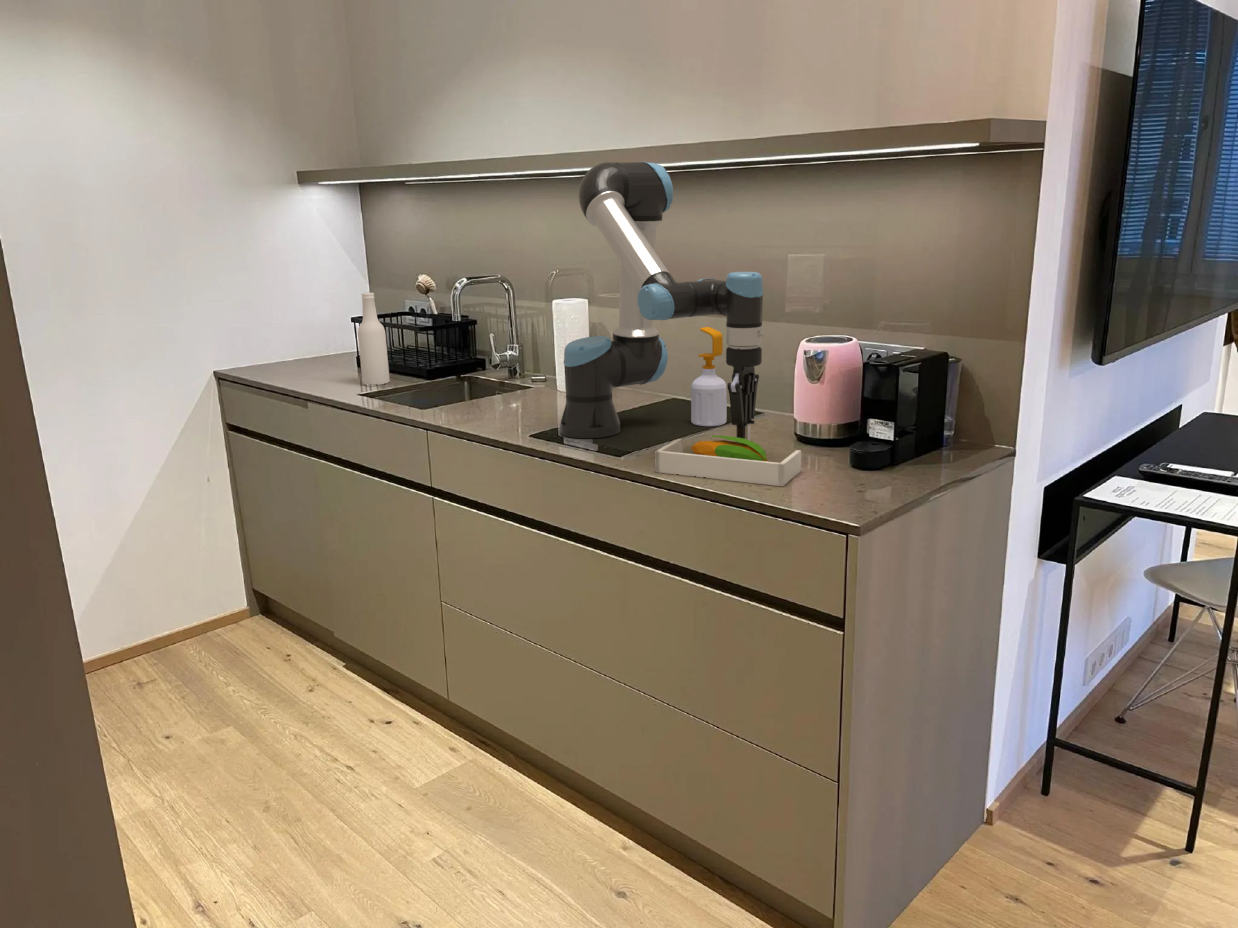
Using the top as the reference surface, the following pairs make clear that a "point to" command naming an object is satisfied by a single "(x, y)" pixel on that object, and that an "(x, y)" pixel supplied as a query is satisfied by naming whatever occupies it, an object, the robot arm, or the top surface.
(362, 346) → the alcohol
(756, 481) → the tray
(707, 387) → the soap bottle
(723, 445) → the corn
